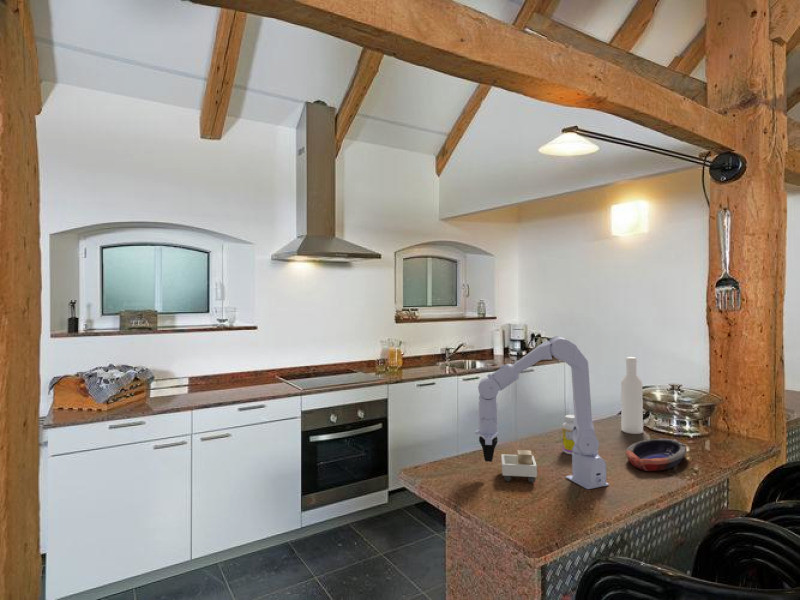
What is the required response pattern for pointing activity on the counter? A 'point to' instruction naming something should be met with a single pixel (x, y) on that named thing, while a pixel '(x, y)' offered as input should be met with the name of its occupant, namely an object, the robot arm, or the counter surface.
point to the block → (524, 457)
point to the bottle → (631, 400)
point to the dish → (656, 454)
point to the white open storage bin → (517, 468)
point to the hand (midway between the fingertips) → (488, 460)
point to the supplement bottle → (568, 434)
